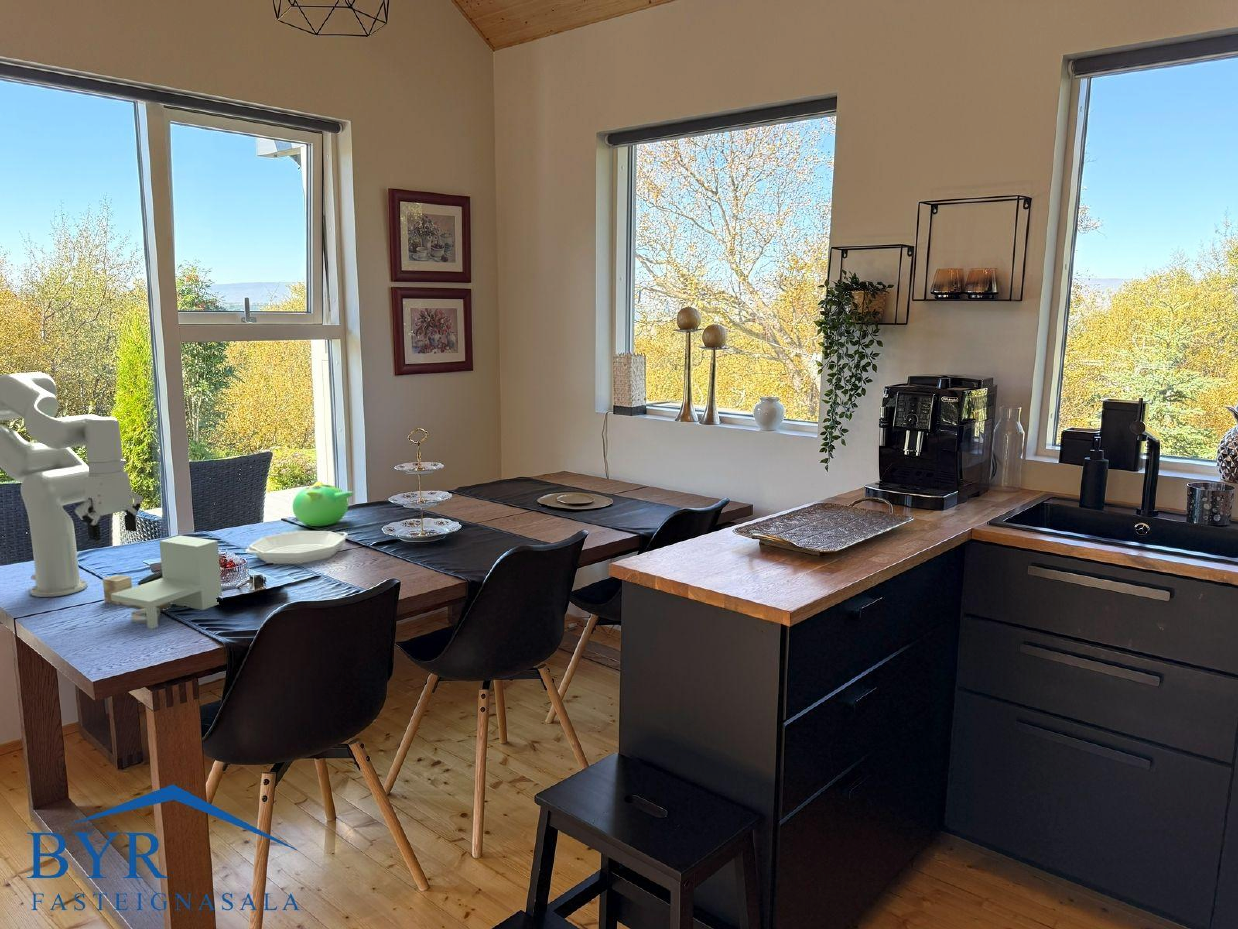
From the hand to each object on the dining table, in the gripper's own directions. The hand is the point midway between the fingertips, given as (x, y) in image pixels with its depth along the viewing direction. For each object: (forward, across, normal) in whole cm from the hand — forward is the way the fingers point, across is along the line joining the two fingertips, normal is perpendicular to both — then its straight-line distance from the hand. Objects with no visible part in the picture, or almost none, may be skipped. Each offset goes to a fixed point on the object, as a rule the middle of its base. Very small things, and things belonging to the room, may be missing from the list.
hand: (113, 535), depth 219 cm
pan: (+18, -52, +9) cm, 55 cm away
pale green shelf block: (+17, 0, +18) cm, 25 cm away
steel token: (+18, +6, +17) cm, 26 cm away
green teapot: (+17, -82, -10) cm, 85 cm away
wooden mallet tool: (+17, 0, +6) cm, 18 cm away
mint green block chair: (+18, -23, -4) cm, 30 cm away
